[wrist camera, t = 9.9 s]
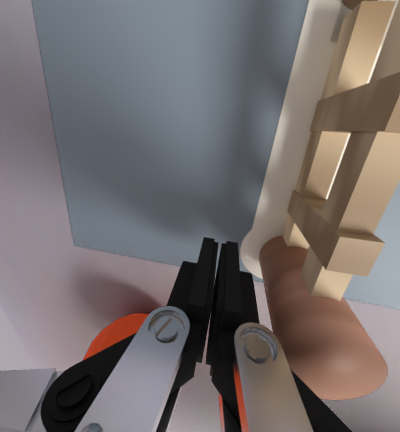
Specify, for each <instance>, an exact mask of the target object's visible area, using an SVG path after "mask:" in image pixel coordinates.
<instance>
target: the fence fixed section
mask: <svg viewBox="0 0 400 432" xmlns="http://www.w3.org/2000/svg"><path fill="white" fill-rule="evenodd" d="M342 1H343V3H344V5H345V6H346V7H347V8H348V9H350V10H353V9H354V8H355V7H356V6H357V5H358V4H359V3H360V2H361V1H378V0H342Z"/></svg>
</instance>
